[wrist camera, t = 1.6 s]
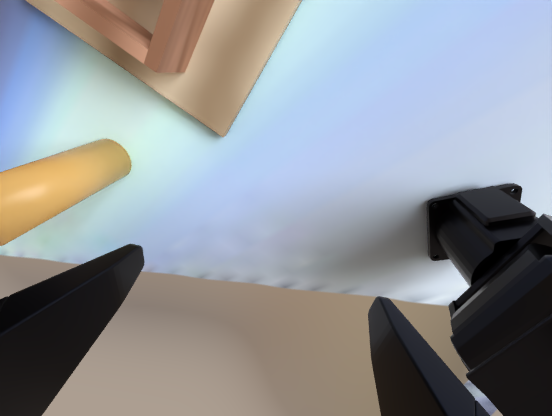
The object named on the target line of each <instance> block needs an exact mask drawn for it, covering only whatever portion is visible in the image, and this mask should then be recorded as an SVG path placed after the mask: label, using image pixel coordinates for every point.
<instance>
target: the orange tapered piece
mask: <svg viewBox="0 0 552 416" xmlns="http://www.w3.org/2000/svg"><path fill="white" fill-rule="evenodd" d="M130 170H131V160H130V157H129V155H128V153H127V152H126V150H125V149H124V148H123V147H122V146H121V145H120V144H118V143H117V142H115V141H113V140H110V139H101V140H98V141H94V142H91V143H88V144H85V145H82V146H79V147H76V148H73V149H70V150H67V151H64V152H61V153H58V154H55V155H52V156H49V157H46V158H43V159H40V160H37V161H34V162H31V163H28V164H24V165H21V166H18V167H15V168H12V169H9V170H6V171H3V172H0V246H2V245H5V244H6V243H8V242H10V241H12V240H13V239H15V238H17V237H19V236H20V235H22V234H24V233H26V232H28V231H29V230H31V229H33V228H35V227H36V226H38V225H40V224H42V223H43V222H45V221H47V220H49V219H50V218H52V217H54V216H56V215H57V214H59V213H61V212H63V211H64V210H66V209H68V208H70V207H72V206H73V205H75V204H77V203H79V202H80V201H82V200H84V199H86V198H87V197H89V196H91V195H93V194H94V193H96V192H98V191H100V190H101V189H103V188H105V187H107V186H108V185H110V184H112V183H114V182H115V181H117V180H119V179H121V178H123V177H124V176H126V175H127V174H129V172H130Z"/></svg>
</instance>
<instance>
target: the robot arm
mask: <svg viewBox="0 0 552 416" xmlns="http://www.w3.org/2000/svg"><path fill="white" fill-rule="evenodd" d="M512 189H514V190H513V191H512V192H511V190H512ZM521 194H522V187H521V186H519V185H517V184H514V183H513V184H507V185H502V186H496V187H495V186H491V187H486V188H480V189H475V190H470V191H465V192H460V193H458V194H455V195H450V196H445V197H440V198H435V199H431V200H429V201H428V203H427V228H428V255H429V257H430V259H431V260H433V261H439V260H446V259H450V260H451V261H452V263H453V264H454V266H455V267H456V268H457V270H458V271H459V272H460V274H461V275H462V276H463V278H464V279H465V281H466V282H467V283H468V285H469V286H470V288H468V289H467V290H466V291H465V292H464V293H463V294H462V295H461V296H460V297H459V298H458V299H457V300H456V301H453V302H451V303H450V304H449V310H450V316H451V326H452V332H453V335H452V336H451V337H450V338H451V342H452V344H453V346H454V348H455V350H456V351H457V353H458V355H459V356H460V358H461V360H462V362H463V363H464V365H465V366H466V368H467V369H468V371H469V372H468V373H467V374H466V376H467V378H468V379H469V380H470V381H471V382H472V383H473V384H474V385H475V386H476V387H477V388H478V389H479V390H480V391H481V392H482V393H484V394H485V395H486V396H487V398H488V399H489V400H490V401H491V402H492V403H493V404H494V406H495V407H496V408H497V409H498V410H499V411H500V412H501V413H502V415H503V416H552V216H549V215H546V214H543V215H542V216H541V217H540V218H537V217H536V213H535V212H534V211H533V210H531V209H529V208H528V207H526V206H525V205H523V204H522V203H520V200H521ZM433 204H436V205H435V206H433V207H432V205H433ZM434 255H436V256H434ZM143 266H144V256H143V249H142V247H141V246H140V245H135V244H128V245H126V246H123V247H121V248H119V249H116V250H114V251H112V252H109V253H107V254H105V255H102V256H100V257H98V258H95V259H93V260H91V261H88V262H86V263H84V264H81V265H79V266H77V267H75V268H72V269H70V270H67V271H65V272H63V273H60V274H58V275H56V276H54V277H51V278H49V279H47V280H44V281H42V282H40V283H37V284H35V285H32V286H30V287H28V288H25V289H23V290H21V291H18V292H16V293H14V294H12V295H10V296H9V297H4V298H2V299H0V416H42V414H43V413H44V412H45V410H46V409H47V408H48V406H49V405H50V403H51V402H52V401H53V399H54V398H55V396H56V395H57V394H58V392H59V391H60V389H61V388H62V387H63V385H64V384H65V383H66V381H67V380H68V378H69V377H70V376H71V374H72V373H73V371H74V370H75V369H76V367H77V366H78V364H79V363H80V362H81V360H82V359H83V358H84V356H85V355H86V353H87V352H88V351H89V349H90V348H91V346H92V345H93V344H94V342H95V341H96V339H97V338H98V337H99V335H100V334H101V332H102V331H103V330H104V328H105V327H106V325H107V324H108V323H109V321H110V320H111V319H112V317H113V316H114V314H115V313H116V312H117V310H118V309H119V307H120V306H121V304H122V303H123V301H124V300H125V298H126V296H127V295H128V293H129V291H130V289H131V288H132V286H133V284H134V282H135V280H136V279H137V277H138V275H139V274H140V272H141V270H142V269H143ZM368 320H369V334H370V348H371V360H372V366H373V372H374V378H375V383H376V389H377V395H378V400H379V406H380V412H381V416H490V415H489V414H488V413H487V412H486V410H485V409H484V408H483V407H482V406H481V405H480V403H479V402H478V401H476V400H475V398H474V397H473V395H472V394H471V393H470V392H469V391H468V390H467V388H466V387H465V386H464V385H463V384H462V383H461V381H460V380H459V379H458V378H457V377H456V376H455V375H454V373H453V372H452V371H451V370H450V369H449V368H448V366H447V365H446V364H445V363H444V362H443V361H442V359H441V358H440V357H439V356H438V355H437V354H436V352H435V351H434V350H433V349H432V348H431V347H430V346H429V345H428V343H427V342H426V341H425V340H424V339H423V337H422V336H421V335H420V334H419V333H418V332H417V330H416V329H415V328H414V327H413V326H412V324H411V323H410V322H409V321H408V320H407V319H406V317H404V315H403V314H402V313H401V312H400V311H399V309H397V307H396V306H395V305H394V304H393V302H392V301H391V300H390V299H388V298H385V297H380V296H378V297H376V299H375V300H374V302H373V304H372V306H371V308H370V309H369V313H368Z"/></svg>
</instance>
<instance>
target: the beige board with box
mask: <svg viewBox="0 0 552 416" xmlns="http://www.w3.org/2000/svg"><path fill="white" fill-rule="evenodd" d="M26 1H27V2H29V3H30V4H31V5H33V6H34V7H36V8H37V9H39V10H40V11H42V12H43V13H44V14H46V15H47V16H49V17H50V18H52V19H53V20H54V21H56V22H57V23H59V24H60V25H62V26H63V27H65V28H66V29H67V30H69V31H70V32H72V33H73V34H75V35H76V36H78V37H79V38H80V39H82V40H83V41H85V42H86V43H88V44H89V45H91V46H92V47H93V48H95V49H96V50H98V51H99V52H101V53H102V54H104V55H105V56H106V57H108V58H109V59H111V60H112V61H114V62H115V63H116V64H118V65H119V66H121V67H122V68H124V69H125V70H127V71H128V72H129V73H131V74H132V75H134V76H135V77H137V78H138V79H140V80H141V81H142V82H144V83H145V84H147V85H148V86H150V87H151V88H153V89H154V90H155V91H157V92H158V93H160V94H161V95H163V96H164V97H165V98H167V99H168V100H170V101H171V102H173V103H174V104H176V105H177V106H178V107H180V108H181V109H183V110H184V111H186V112H187V113H189V114H190V115H191V116H193V117H194V118H196V119H197V120H199V121H200V122H202V123H203V124H204V125H206V126H207V127H209V128H210V129H212V130H213V131H215V132H216V133H217V134H219V135H220V136H222V137H224V136H226V134H227V133H228V131H229V129H230V127H231V125H232V124H233V122H234V120H235V118H236V117H237V115H238V113H239V111H240V110H241V108H242V106H243V104H244V102H245V101H246V99H247V97H248V95H249V94H250V92H251V90H252V88H253V86H254V85H255V83H256V81H257V79H258V78H259V76H260V74H261V72H262V71H263V69H264V67H265V65H266V63H267V62H268V60H269V58H270V56H271V55H272V53H273V51H274V49H275V47H276V46H277V44H278V42H279V40H280V39H281V37H282V35H283V33H284V32H285V30H286V28H287V26H288V24H289V23H290V21H291V19H292V17H293V16H294V14H295V12H296V10H297V8H298V7H299V5H300V3H301V1H302V0H26Z"/></svg>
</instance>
